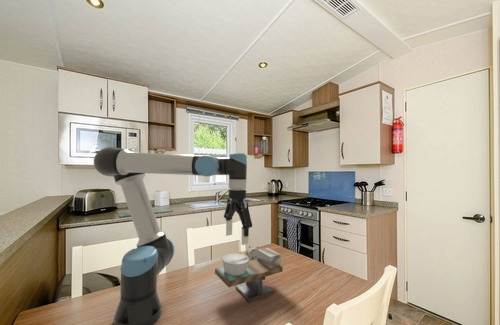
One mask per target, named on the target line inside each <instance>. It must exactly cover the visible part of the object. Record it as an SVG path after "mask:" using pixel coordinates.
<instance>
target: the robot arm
mask: <svg viewBox="0 0 500 325" xmlns="http://www.w3.org/2000/svg"><path fill="white" fill-rule="evenodd" d="M247 157H248V156H247V155H246V154H245V153H244V152H242V153H241V152H230V153H229V156H228V157H215V156H213V155H210V154H202V155H201V154H200V155H199V154H196V155H195V154H179V153H178V154H177V153H176V154H175V153H156V152H154V153H153V152H138V151H136V150H133V149H130V148H129V149H128V148H120V147H115V146H108V147H104V148H102V149H100V150H99V151H98V152H97V153H96V154H95V156H94V158H93V166H94V168H95V169H96V171H97V172H98V173H99V174H101V175H103V176H106V177H112V178H113V179H114V182H115V184H116V185H118V186H120V187H121V189H122V192H123V196H124V199H125V202H126V205H127V208H128V211H129V214H130V216H131V220H132V223H133V226H134V228H135V231H136V235H137V237H138V241H137V243H136V248H132V249H130V250H129V251H126V253H125V254H124V255H123V257H122V259H121V265H120V298H119V299H120V300H119V303H118V305H117V308H116V310H115V314H114V318H113V325H153V324H154V323H155V322H156V321H157V320H159V318H160V316H161V314H162V303H161V300H160V297H159V295H158V291H157V290H158V289H157V288H158V287H157V284H158V283H157V281H158V275H159V274H160V273H161V272H162V271H163V270H164V269H165V268H166V267H167V266H168V265H170V262H171V260H172V259H173V258H174V255H175V245H174V243H173V241H172V240H171V239H170V238H168V237H167V235H166V233H165V231H162V230H160V225H159V224H158V221H157V217H156V214H155V212H154V209H153V206H152V203H151V200H150V197H149V194H148V191H147V189H146V185H145V183H144V178H145V176H146V174H158V175H178V176H179V175H183V176H198V177H199V176H201V177H211V176H228V198H227V201H226V207H225V210H224V214H223V219H225V222H226V223H225V224H226V225H225V226H226V228H225V236H232V235H233V216H234V215H235V213H236V214H238V216H239V219H240V222H241V225H242V227H241V241H240V242H241V245H242V246H245V245H249V229H250V228H253V222H252V218H251V214H250V210H249V202H247V201H246V202H244V200H245V199H246V198H247V190H246V189H247V173H248V172H247V171H248V170H247V168H248V161H247Z"/></svg>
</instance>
